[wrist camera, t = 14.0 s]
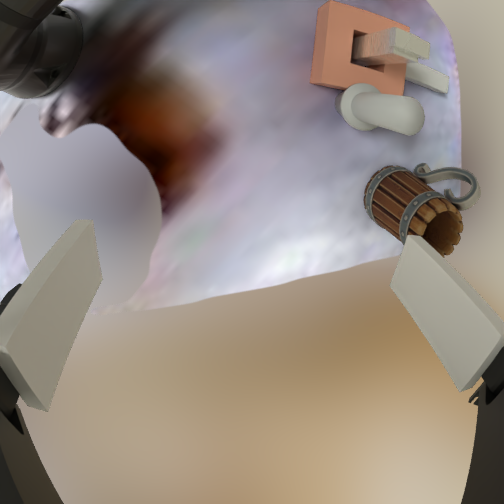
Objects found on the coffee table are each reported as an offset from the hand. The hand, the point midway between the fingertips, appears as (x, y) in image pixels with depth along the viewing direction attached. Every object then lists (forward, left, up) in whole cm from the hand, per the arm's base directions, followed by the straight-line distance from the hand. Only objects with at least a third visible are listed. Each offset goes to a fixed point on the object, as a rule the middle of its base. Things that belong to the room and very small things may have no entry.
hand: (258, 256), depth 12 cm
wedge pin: (+16, +15, -32) cm, 39 cm away
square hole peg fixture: (+21, +12, -32) cm, 40 cm away
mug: (+28, -4, -32) cm, 43 cm away
